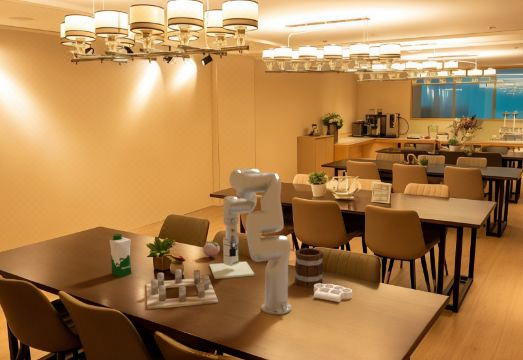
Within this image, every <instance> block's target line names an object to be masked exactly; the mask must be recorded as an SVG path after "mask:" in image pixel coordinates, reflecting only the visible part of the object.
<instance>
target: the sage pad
mask: <svg viewBox="0 0 523 360" xmlns="http://www.w3.org/2000/svg"><path fill="white" fill-rule="evenodd" d="M209 268H210V270H211V273H212V275H213V278H214V280H218V279H229V278H243V277H244V278H245V277H253V276H254V277H255V272H254V271H253V270H252V268H251V266H250V265H249V263H248V262H247V261H239V263H238V264H236V265H233V266H229V265H225V264H224V262H222V263H211V264H210V263H209Z"/></svg>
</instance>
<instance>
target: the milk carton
mask: <svg viewBox="0 0 523 360" xmlns="http://www.w3.org/2000/svg"><path fill="white" fill-rule="evenodd" d="M112 236H113V237H112V239H109V240H108V241H109V245H110V255H111V256H110V259H111V275H112V276H116V277H119V278H122V277H125V276H128V275H132V265H131V250H130V249H131V241H132V239H131V238H127V237H123V236H122V234H120V233H116V234H113V235H112Z"/></svg>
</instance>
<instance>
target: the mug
mask: <svg viewBox="0 0 523 360" xmlns="http://www.w3.org/2000/svg"><path fill="white" fill-rule="evenodd" d="M294 252H295V263H294V268H295V277H294V282H295V283H296V284H298V285H297V286H302V287H305V286H306V288H308V287H309V288H310V287H311V286H314V285H315V284H318V283H322V284H324V283H323V271H324V270H323V269H324V265H323V263H324V262H323V258H324V257H323V256H324V252H323V251H322V250H321V249H316V248H312V247H310V248H309V247H308V248H307V247H306V248H299V249H297V250H295V251H294ZM311 288H312V287H311Z"/></svg>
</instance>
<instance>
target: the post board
mask: <svg viewBox="0 0 523 360" xmlns="http://www.w3.org/2000/svg"><path fill="white" fill-rule="evenodd" d="M174 272H175V273H174V277H175V278H174V280H173V279H172V280H165V274H164V273H163V272H158V273H156V278H155V279H151V280H150V281H149V282H147V281H146V284H145V285H146V306H147V310H157V309H168V308H177V307H178V308H179V307H188V306H189V307H190V306H200V305H208V304H209V305H210V304H218V303H219V300H218V297H217V295H216V292H215V289H214V287H213V285H212V282H211V279H210V276H209V275H207V274H206V275H202V276H201V270H200V269H195V270H193V278H184V279H182V276H183V275H182V268H181V269H180V268H178V269H175V270H174ZM193 286H194V287H195V286H196V290H197V296H187V288H186V287H193ZM169 288H178V297H176V298H167V292H166V290H167V289H169Z"/></svg>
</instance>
